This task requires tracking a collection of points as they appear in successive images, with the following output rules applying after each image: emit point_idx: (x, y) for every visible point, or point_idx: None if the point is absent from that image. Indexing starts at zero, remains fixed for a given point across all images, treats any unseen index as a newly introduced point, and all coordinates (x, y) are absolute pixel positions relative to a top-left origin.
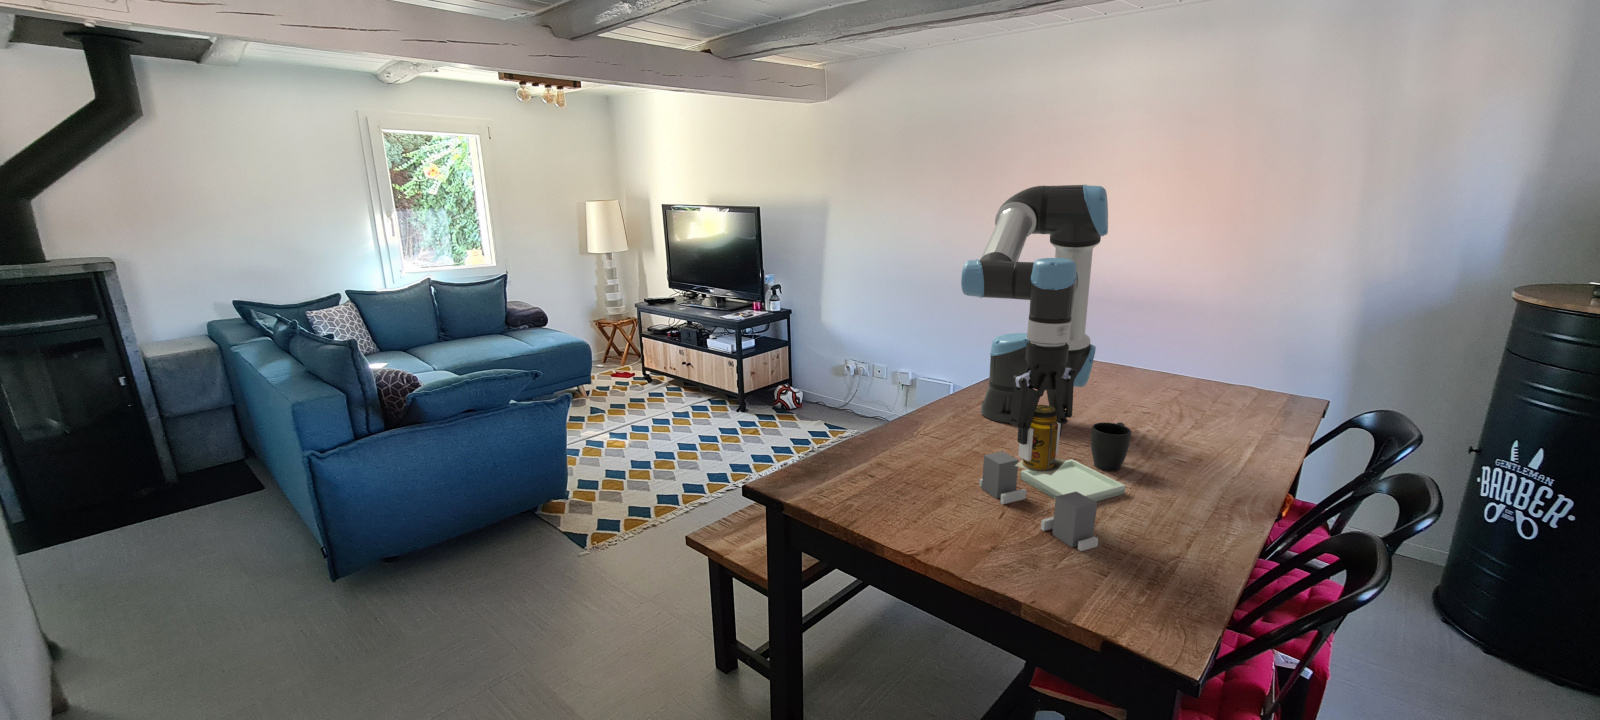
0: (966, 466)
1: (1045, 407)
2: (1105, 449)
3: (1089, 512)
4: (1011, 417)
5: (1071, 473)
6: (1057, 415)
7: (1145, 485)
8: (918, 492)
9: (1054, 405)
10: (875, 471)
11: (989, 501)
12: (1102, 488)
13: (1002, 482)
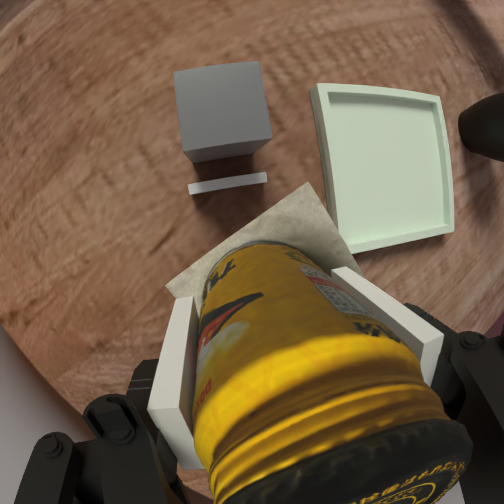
0: (219, 5)
1: (420, 495)
2: (492, 143)
3: None
4: (33, 480)
5: (414, 132)
6: (464, 393)
7: (476, 212)
8: (49, 104)
9: (475, 479)
10: (36, 21)
11: (168, 170)
12: (425, 212)
13: (206, 156)
